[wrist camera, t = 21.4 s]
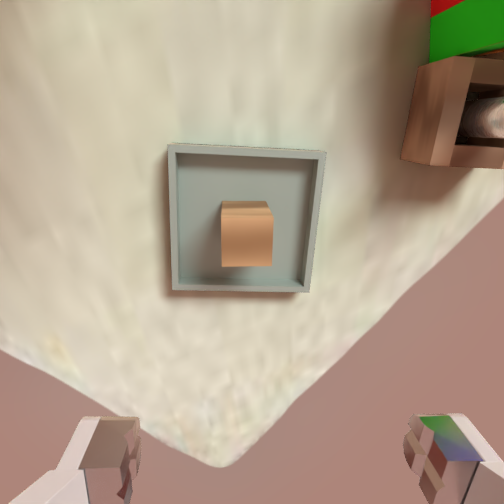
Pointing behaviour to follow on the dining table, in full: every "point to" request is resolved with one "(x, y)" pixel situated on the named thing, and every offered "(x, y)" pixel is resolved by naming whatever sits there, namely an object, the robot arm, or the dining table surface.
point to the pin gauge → (482, 118)
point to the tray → (242, 189)
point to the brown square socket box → (452, 113)
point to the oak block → (246, 233)
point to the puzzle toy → (466, 28)
